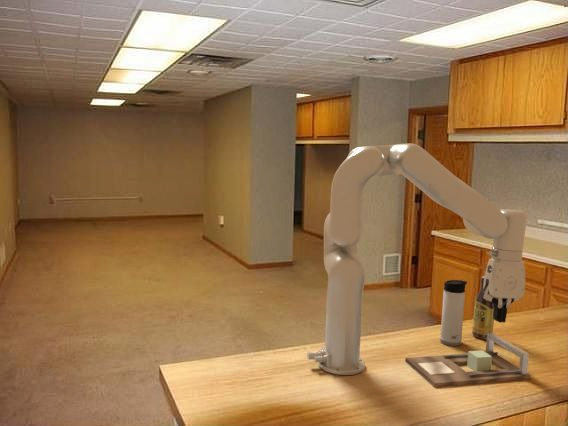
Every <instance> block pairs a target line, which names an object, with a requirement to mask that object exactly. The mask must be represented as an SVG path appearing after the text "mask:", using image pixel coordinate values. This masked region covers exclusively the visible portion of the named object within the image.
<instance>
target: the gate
mask: <svg viewBox="0 0 568 426" xmlns="http://www.w3.org/2000/svg"><path fill="white" fill-rule="evenodd" d="M495 343H496V344H497V345H499V346H501V347H502V348H504V349H506V350H507V351H508V352H510V353H513V354H514V355H515V356H518V357H519V366H518V368H519V373H520V374H522V375H523V374H527V373H528V368H529V358H530V357H529V355H530V353H529V352H527V351H526V350H524V349H522V348H520V347H518V346H517V345H514V344H513V343H511V342H510V341H508V340H506V339H504V338H502V337H501V336H499V335H497V334H496V333H494V332H493V333H487V339H486V343H485V344H486V346H485V352H487V353H491V352H494V349H495Z"/></svg>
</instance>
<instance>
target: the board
mask: <svg viewBox="0 0 568 426" xmlns="http://www.w3.org/2000/svg"><path fill="white" fill-rule="evenodd" d="M485 352H486V351H485ZM486 353H487V352H486ZM487 354H489V355H490V356H492V363H491V365H494V366H496V367H497V369H496V368H495V369H491V370H483V371H473V370H472V371H471V370H470V371H466V370H464V369H463V368H462V367H460V366H462V365H464V366H465V365H466V366H467V361H468V353H455V354H443V355H429V356H428V355H427V356H415V357H412V356H411V357H405V360H404V361H405V363H407V364H408V365H409V366H410V368H412V369H413V370H414V371H416V373H418V374H419V375H420V376H421V377H422V378H423V379H425V380H426V381H427V383H429V384H430V385H432V387H433V388H440V387H452V386H462V385H475V384H485V383H489V384H490V383H499V382H510V381H511V382H512V381H522V380H531V378H532V376H531V374H529V373H528V372H527V374H523V375H522V374H520V373H519V366H518V365H517V366H516V365H515V364H513V363H511V361H509V360H507V359H505V358H504V357H502V356H501V355H499V353H498V352H497V351H496V352H495V351H493V352H491V353H487Z"/></svg>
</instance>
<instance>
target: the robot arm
mask: <svg viewBox="0 0 568 426" xmlns="http://www.w3.org/2000/svg"><path fill="white" fill-rule="evenodd" d="M394 175H395V176H396V175H402V176H403V177H404V178H406V179H407V180H408V181H410V182H411V184H413V185H414V186H415V187H417V189H419V190H420V191H422V192H423V193H424V195H426V196H428V198H430V199H431V200H432V201H433V202H435V203H436V204H437V205H440V206H441V207H444V208H446V209H448V210H449V211H451V212H453V213H454V214H456V215H458V216H459V217H461V218H462V221H463V226H464V227H465V228H466V230H468V231H469V232H470V233H473V234H475V235H477V236H481V237H483V238H486V239H489V240H493V241H492V249H491V250H488V256H491V257H490V258H489V259H488V262H487V265H486V268H485V272H484V276H485V277H484V284H483V292H484V296H483V298H484V299H485V300H488V301H491V302H492V305H494V312H493V319H494V321H496V322H498V323H506V322H507V321H506V320H507V314H508V309H509V308H511V304H513V303H514V302H517V301H520V300H521V298H522V297H524V295H525V290H526V268H525V267H526V266H525V261H523V260H522V259H523V253H524V245H525V237H526V236H525V234H526V227H527V214H526V212H524V211H522V210H520V209H519V210H517V209H509V208H505V209H504V208H503V209H499V208H498V207H497V206H496V205H494V203H492V202H491V200H489V199H487V197H485V196H484V195H482V194H481V193H480V192H478V190H475V189H474V188H472V187H471V186H470V185H468V184H467V183H466V182H464V181H463V180H461V179H460V178H459V177H457V176H456V175H455V174H453V172H451V171H450V170H449V169H448V168H446V167H445V166H444V165H443V164H441V162H439V161H438V160H437V159H436V158H435V157H434V156H432V155H431V154H430V153H429V152H428V151H427V150H426V149H425V148H423V147H421V146H420V145H418V144H416V143H397V144H389V145H388V144H386V145H373V146H372V145H365V146H357V147H354V148H353V149H352V150H351V151H350V152H349V153H348V155H347V157H346V158H345V160H343V162H342V163H341V164H340V165H339V167H338V168H337V170H336V171H335V173H334V175H333V179H332V182H331V188H330V203H329V204H330V205H329V213H328V214H327V215H326V218H325V220H324V224H323V265H324V269H325V272H326V274H327V277H328V278H327V279H328V280H327V290H326V301H325V302H326V307H325V310H326V311H325V315H326V316H325V334H324V335H325V338H324V346H321V349H320V350H318V351H316V352H314V351H310V352H309V351H308V352H307V353H306V357H307V360H308V361H309V360H314V362H315V363H318V367H319V368H320V369H322V370H323V372H327V373H329V374H333V375H337V376H352V375H357V374H359V373H362V372H363V371H364V370H365V367H366V362H365V360H364V359H362V358H361V357H360V353H361V352H360V351H361V332H362V331H361V329H362V311H363V295H364V287H365V282H366V270H365V264H364V263H363V261H362V259H361V258H360V257H359V256H358V255H357V252H358V251H357V250H358V246H357V245H358V244H359V242H360V241H361V239H362V237H363V232H364V226H363V225H364V224H363V223H364V221H363V219H364V218H363V215H364V214H363V213H364V211H363V210H364V209H363V203H364V194H365V190H366V187H367V185H368V183H369V182H370V181H371V180H372V179H374V178H376V177H380V176H381V177H383V176H394ZM491 295H492V296H491Z"/></svg>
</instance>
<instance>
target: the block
mask: <svg viewBox="0 0 568 426" xmlns="http://www.w3.org/2000/svg"><path fill="white" fill-rule="evenodd" d="M467 354H468V361H467V364H466V366H467V368H469V369H471V370H472V371H483V370H492V356H490V355H489V354H487V353H486V351H484V350H470V351H469V350H468V352H467Z"/></svg>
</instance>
